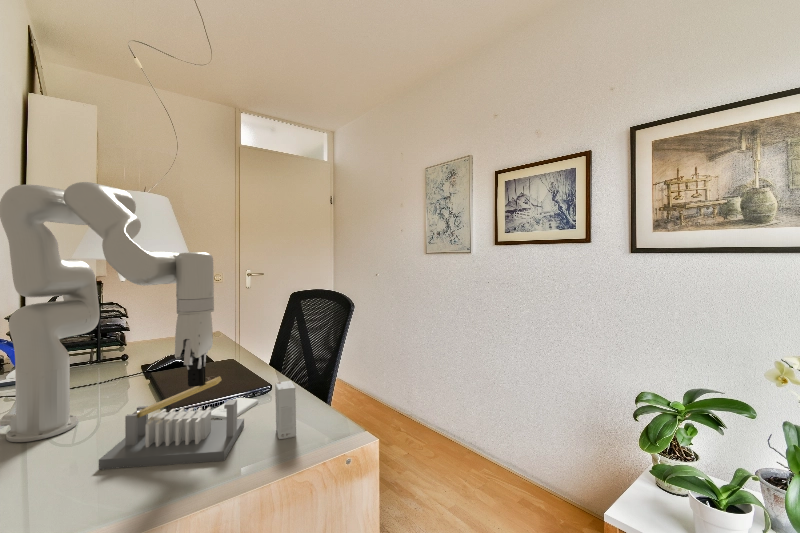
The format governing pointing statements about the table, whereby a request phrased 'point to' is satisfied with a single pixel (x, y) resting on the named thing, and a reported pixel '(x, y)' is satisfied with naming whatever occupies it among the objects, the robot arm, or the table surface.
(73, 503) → the table surface
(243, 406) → the external hard drive
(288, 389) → the skincare box
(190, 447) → the cooler base
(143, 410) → the bar
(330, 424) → the table surface
